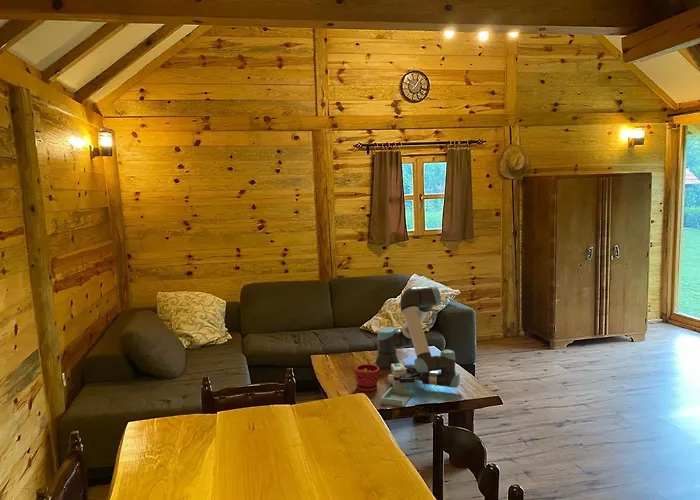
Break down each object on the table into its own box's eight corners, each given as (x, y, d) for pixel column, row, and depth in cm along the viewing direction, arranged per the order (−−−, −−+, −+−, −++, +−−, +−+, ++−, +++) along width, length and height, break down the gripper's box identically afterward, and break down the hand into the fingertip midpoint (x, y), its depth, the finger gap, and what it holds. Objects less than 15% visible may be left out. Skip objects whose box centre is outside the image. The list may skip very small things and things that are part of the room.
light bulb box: (390, 381, 290) (390, 363, 289) (402, 381, 291) (402, 362, 290) (394, 388, 280) (393, 369, 279) (406, 388, 281) (406, 368, 279)
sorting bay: (380, 404, 261) (380, 398, 261) (390, 392, 276) (390, 387, 275) (403, 407, 256) (403, 401, 256) (412, 395, 271) (412, 389, 271)
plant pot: (363, 394, 274) (362, 373, 273) (351, 387, 286) (350, 366, 284) (384, 389, 280) (383, 368, 279) (371, 382, 292) (371, 362, 291)
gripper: (424, 392, 267) (385, 387, 275) (435, 376, 289) (398, 372, 298) (424, 378, 266) (385, 373, 275) (435, 363, 289) (398, 360, 297)
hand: (392, 373), depth 286 cm, fingers closed on light bulb box, 12 cm apart
